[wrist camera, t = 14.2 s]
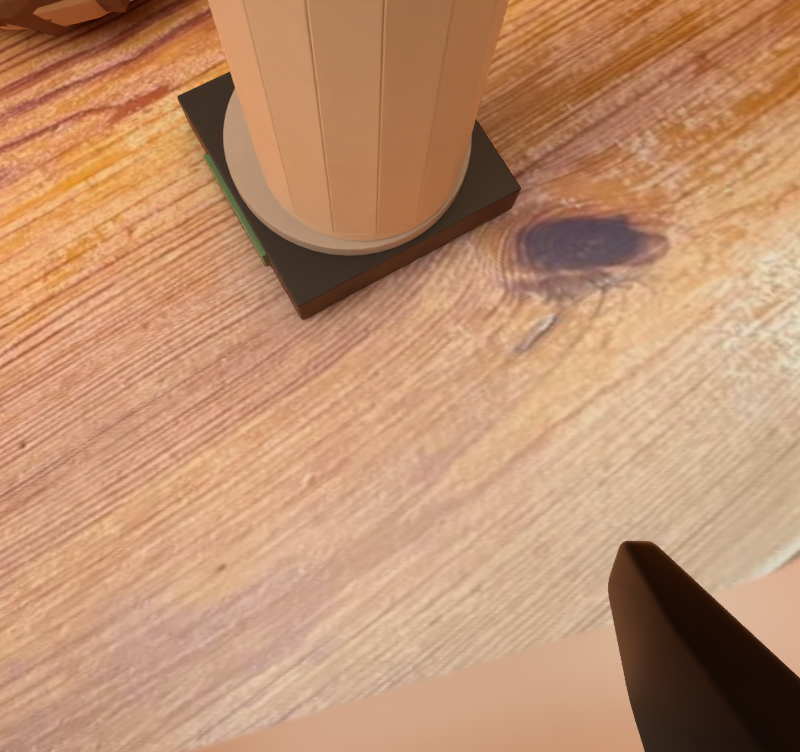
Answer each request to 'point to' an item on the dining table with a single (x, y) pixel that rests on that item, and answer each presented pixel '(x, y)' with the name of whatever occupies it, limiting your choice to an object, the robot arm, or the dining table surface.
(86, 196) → the dining table surface
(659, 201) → the dining table surface
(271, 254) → the scale
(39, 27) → the donut
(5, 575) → the dining table surface
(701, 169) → the dining table surface
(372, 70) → the canister
